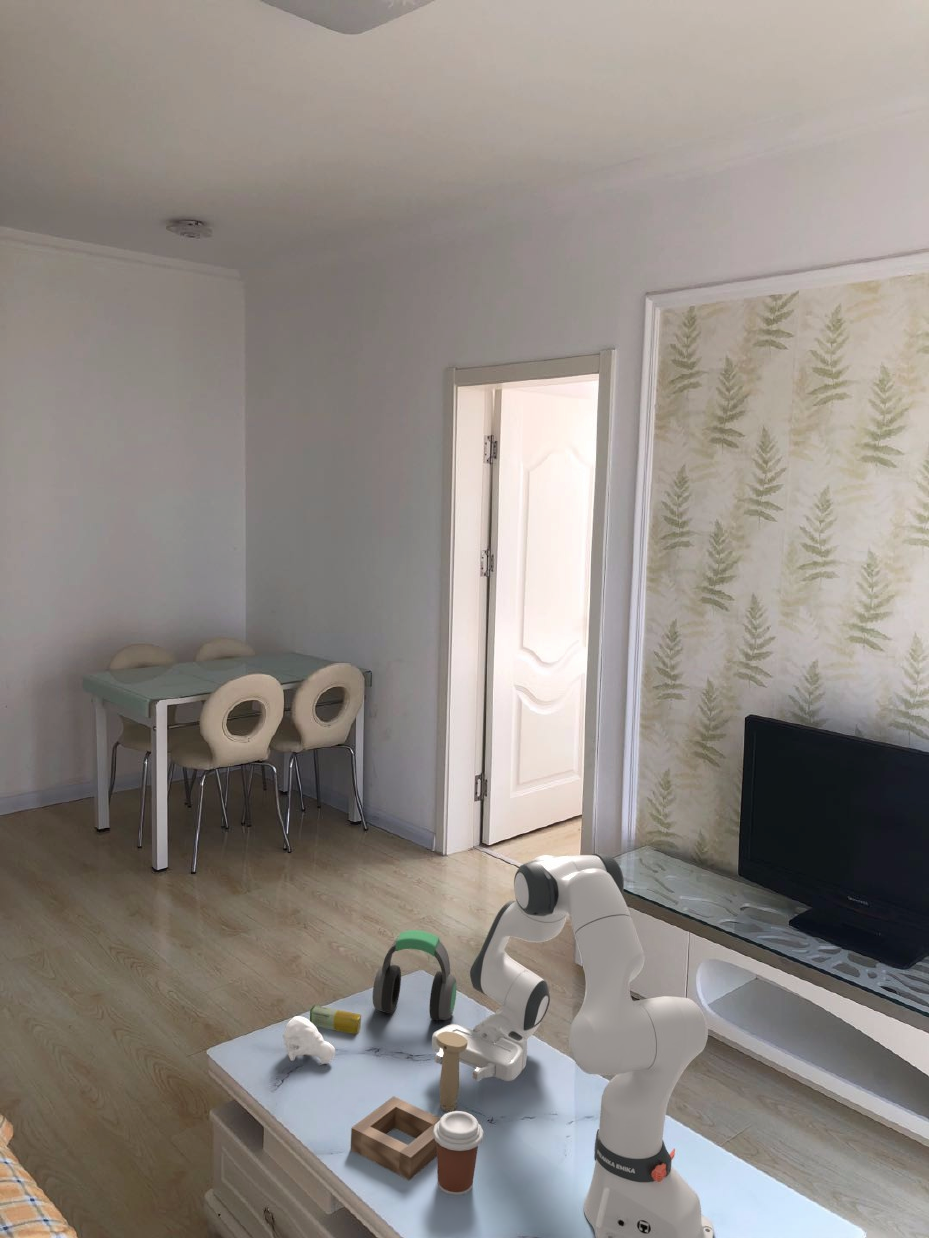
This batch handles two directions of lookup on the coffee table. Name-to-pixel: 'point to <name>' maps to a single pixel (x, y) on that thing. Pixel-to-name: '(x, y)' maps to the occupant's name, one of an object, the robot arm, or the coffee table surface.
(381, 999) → the headphones
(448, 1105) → the handle
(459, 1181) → the coffee cup
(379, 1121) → the socket block
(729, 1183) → the coffee table surface
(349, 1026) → the medication box
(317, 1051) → the white lumpy rounded piece
